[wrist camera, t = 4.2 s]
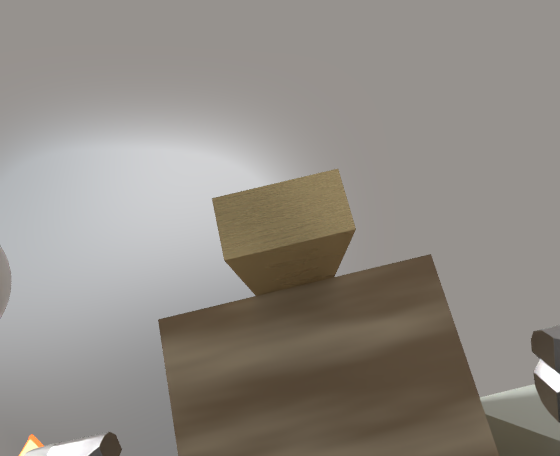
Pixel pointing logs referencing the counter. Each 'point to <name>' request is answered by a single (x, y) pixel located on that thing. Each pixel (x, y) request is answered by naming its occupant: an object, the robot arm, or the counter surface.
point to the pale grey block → (521, 423)
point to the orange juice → (31, 445)
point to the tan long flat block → (286, 231)
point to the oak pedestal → (327, 371)
